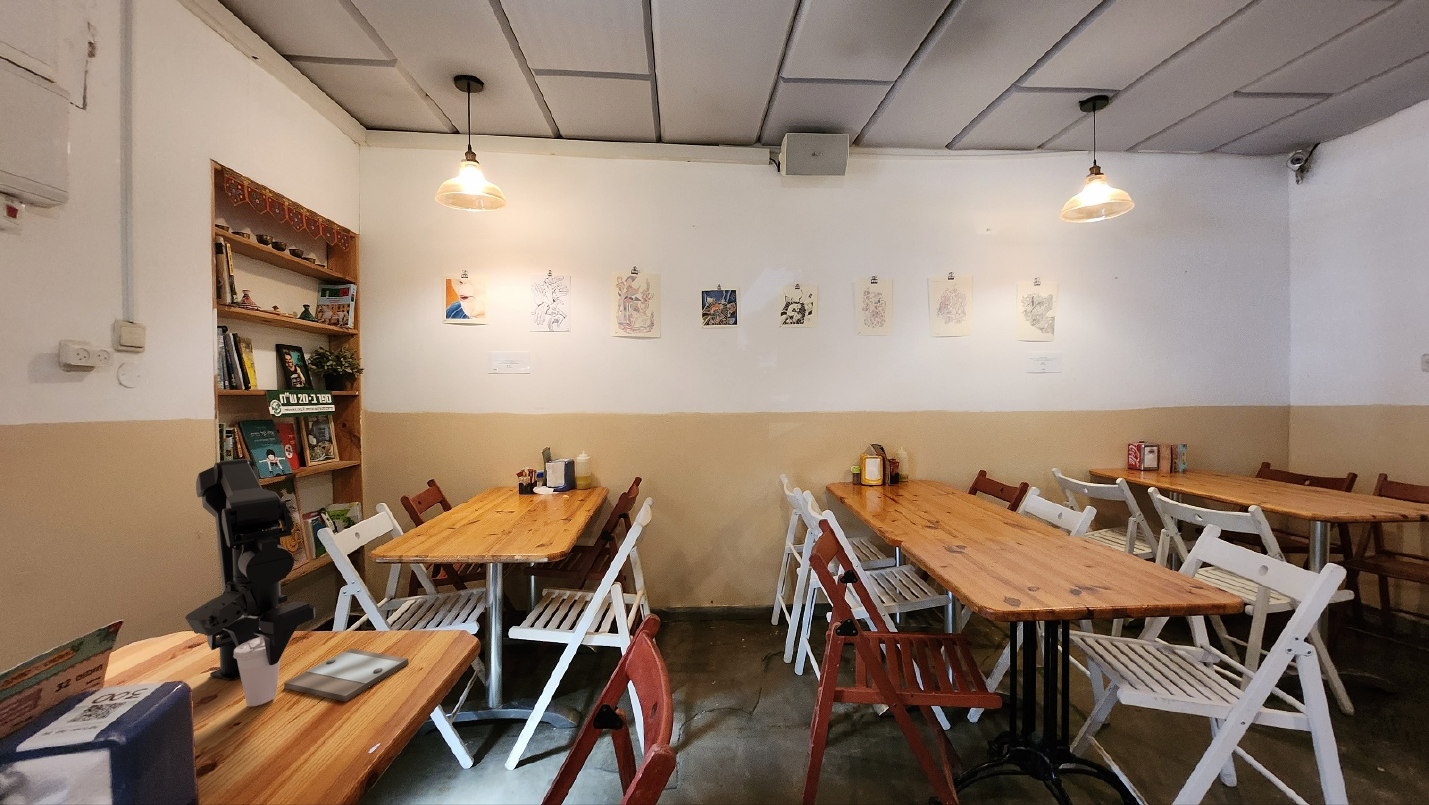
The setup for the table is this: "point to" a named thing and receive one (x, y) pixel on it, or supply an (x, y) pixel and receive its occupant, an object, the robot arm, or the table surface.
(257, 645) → the smoothie
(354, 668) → the gray and brown board
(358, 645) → the table surface
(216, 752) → the table surface
